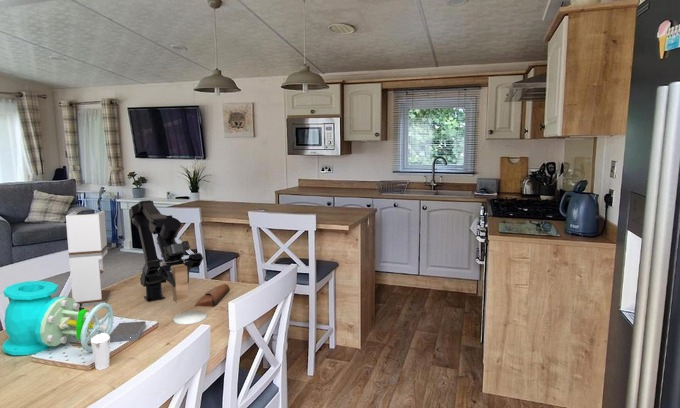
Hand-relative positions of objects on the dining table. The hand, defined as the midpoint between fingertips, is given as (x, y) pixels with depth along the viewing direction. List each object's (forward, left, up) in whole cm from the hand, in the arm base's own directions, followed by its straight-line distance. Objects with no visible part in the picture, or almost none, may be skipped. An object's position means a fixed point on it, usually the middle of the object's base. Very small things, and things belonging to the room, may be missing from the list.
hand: (181, 284), depth 140 cm
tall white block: (-43, -22, -14) cm, 50 cm away
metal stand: (-1, -17, -13) cm, 22 cm away
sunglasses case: (-17, +17, -14) cm, 28 cm away
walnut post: (-1, 0, -6) cm, 6 cm away
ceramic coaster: (-2, +3, -13) cm, 14 cm away
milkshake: (+17, -27, -14) cm, 34 cm away
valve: (-4, -35, -14) cm, 38 cm away
